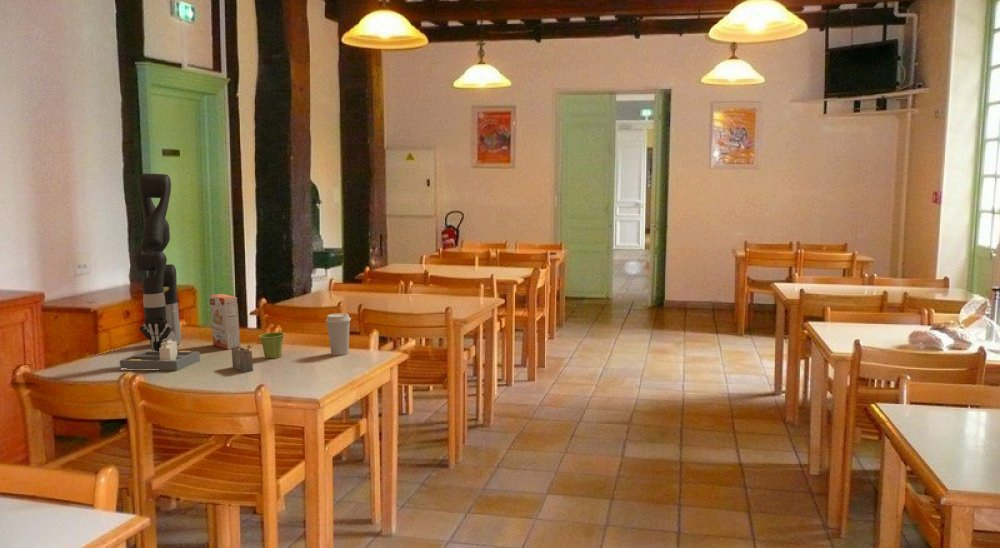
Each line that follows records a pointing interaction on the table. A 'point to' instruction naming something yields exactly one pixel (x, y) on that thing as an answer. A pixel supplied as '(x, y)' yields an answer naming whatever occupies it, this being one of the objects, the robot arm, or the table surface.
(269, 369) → the table surface
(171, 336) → the electrical switch
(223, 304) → the cracker box
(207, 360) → the table surface
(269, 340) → the plant pot
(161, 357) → the tab
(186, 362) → the grey compartment tray
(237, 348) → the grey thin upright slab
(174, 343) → the white block
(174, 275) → the robot arm
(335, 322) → the coffee cup
